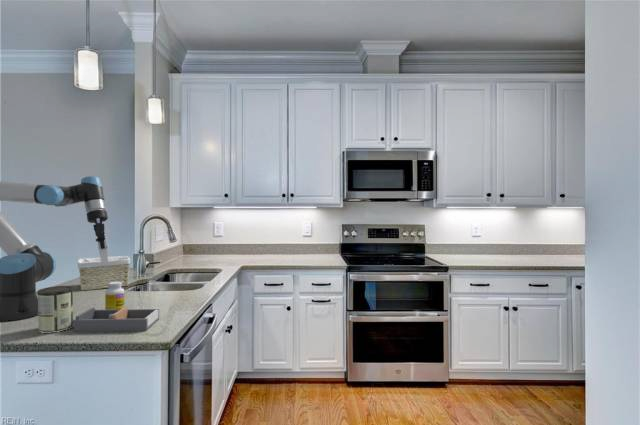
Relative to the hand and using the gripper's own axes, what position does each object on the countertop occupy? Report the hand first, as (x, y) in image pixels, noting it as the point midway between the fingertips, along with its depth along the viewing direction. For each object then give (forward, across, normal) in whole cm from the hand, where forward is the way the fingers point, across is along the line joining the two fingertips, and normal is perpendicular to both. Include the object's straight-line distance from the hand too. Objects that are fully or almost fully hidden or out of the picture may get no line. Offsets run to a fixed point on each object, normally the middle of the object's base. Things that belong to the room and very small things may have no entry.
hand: (104, 260), depth 162 cm
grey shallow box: (+28, -19, -1) cm, 34 cm away
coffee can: (+24, -14, +18) cm, 33 cm away
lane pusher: (+27, -19, 0) cm, 33 cm away
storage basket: (+4, +53, +1) cm, 53 cm away
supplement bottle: (+24, -5, 0) cm, 24 cm away
